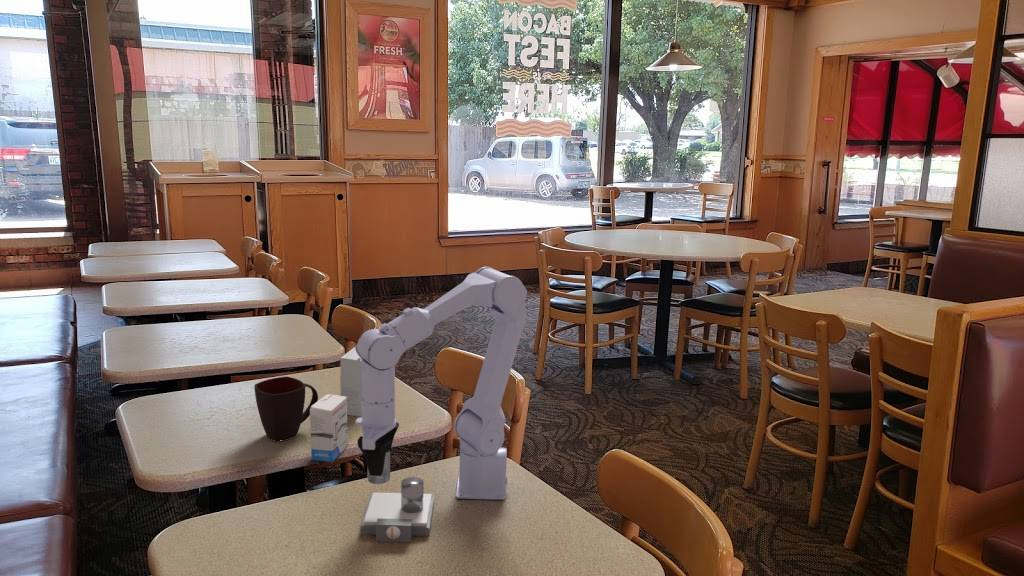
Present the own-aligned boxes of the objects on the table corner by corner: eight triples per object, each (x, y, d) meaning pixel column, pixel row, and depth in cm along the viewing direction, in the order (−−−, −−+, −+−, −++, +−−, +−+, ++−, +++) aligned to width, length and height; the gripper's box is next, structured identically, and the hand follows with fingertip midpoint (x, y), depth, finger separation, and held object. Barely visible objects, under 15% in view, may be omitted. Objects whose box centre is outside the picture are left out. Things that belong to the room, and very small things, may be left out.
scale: (434, 503, 140) (434, 487, 139) (428, 543, 127) (428, 527, 126) (370, 501, 139) (370, 486, 139) (358, 541, 127) (358, 525, 126)
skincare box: (354, 401, 185) (354, 345, 181) (377, 405, 184) (377, 348, 180) (339, 414, 177) (338, 356, 173) (362, 418, 176) (362, 359, 172)
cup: (250, 434, 165) (247, 384, 162) (305, 417, 175) (304, 370, 172) (271, 449, 158) (269, 397, 155) (328, 431, 168) (327, 382, 165)
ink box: (331, 463, 153) (330, 410, 151) (309, 460, 154) (308, 408, 152) (348, 445, 162) (348, 395, 159) (327, 442, 163) (326, 392, 160)
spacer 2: (402, 501, 136) (402, 476, 134) (423, 501, 136) (424, 476, 135) (400, 513, 132) (400, 487, 131) (422, 513, 132) (423, 487, 131)
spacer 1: (371, 472, 135) (371, 447, 133) (392, 474, 134) (392, 449, 133) (364, 482, 131) (364, 457, 130) (386, 485, 130) (385, 459, 129)
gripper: (366, 381, 136) (367, 448, 139) (343, 413, 122) (345, 487, 125) (404, 383, 135) (404, 451, 139) (385, 415, 121) (386, 490, 125)
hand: (379, 468), depth 132 cm, fingers closed on spacer 1, 4 cm apart
